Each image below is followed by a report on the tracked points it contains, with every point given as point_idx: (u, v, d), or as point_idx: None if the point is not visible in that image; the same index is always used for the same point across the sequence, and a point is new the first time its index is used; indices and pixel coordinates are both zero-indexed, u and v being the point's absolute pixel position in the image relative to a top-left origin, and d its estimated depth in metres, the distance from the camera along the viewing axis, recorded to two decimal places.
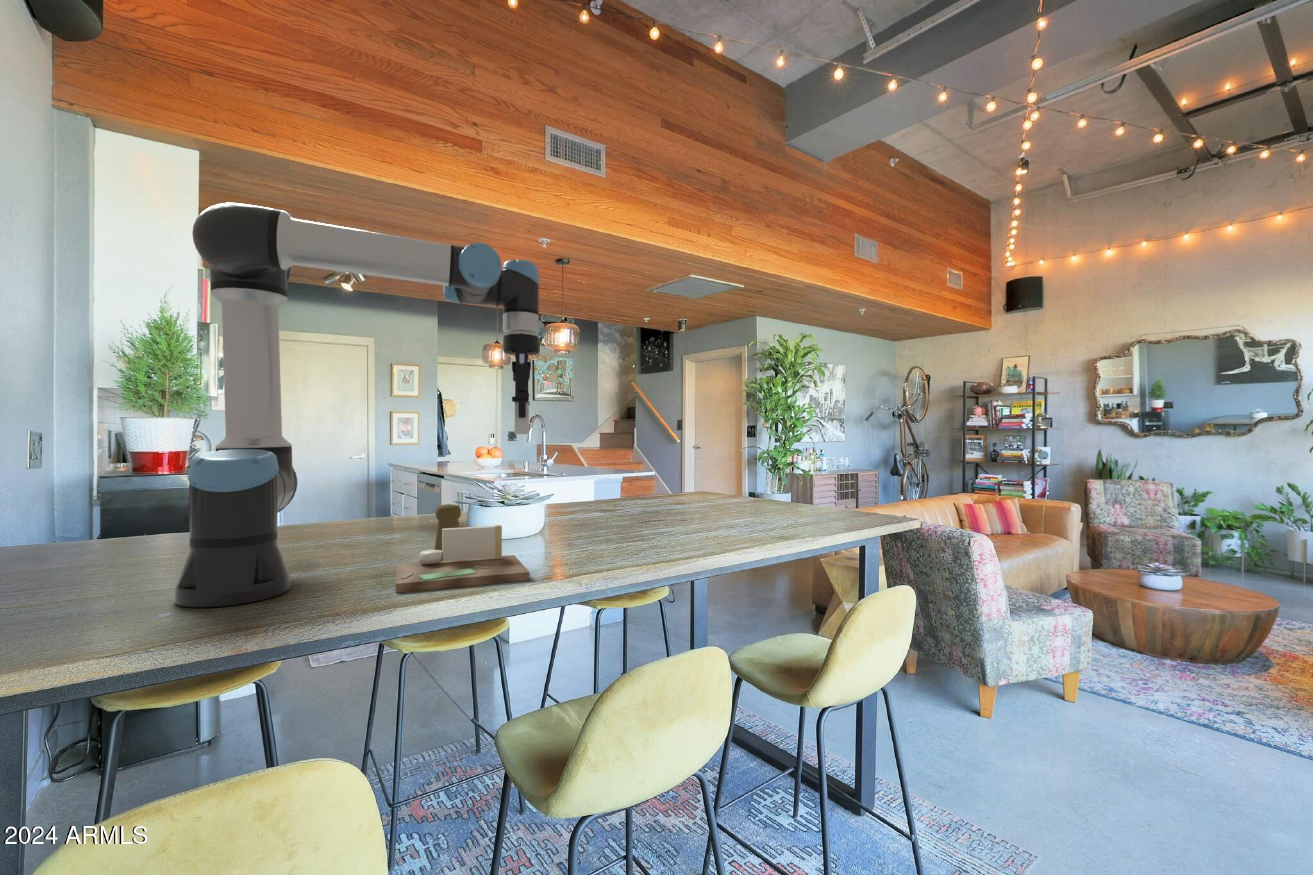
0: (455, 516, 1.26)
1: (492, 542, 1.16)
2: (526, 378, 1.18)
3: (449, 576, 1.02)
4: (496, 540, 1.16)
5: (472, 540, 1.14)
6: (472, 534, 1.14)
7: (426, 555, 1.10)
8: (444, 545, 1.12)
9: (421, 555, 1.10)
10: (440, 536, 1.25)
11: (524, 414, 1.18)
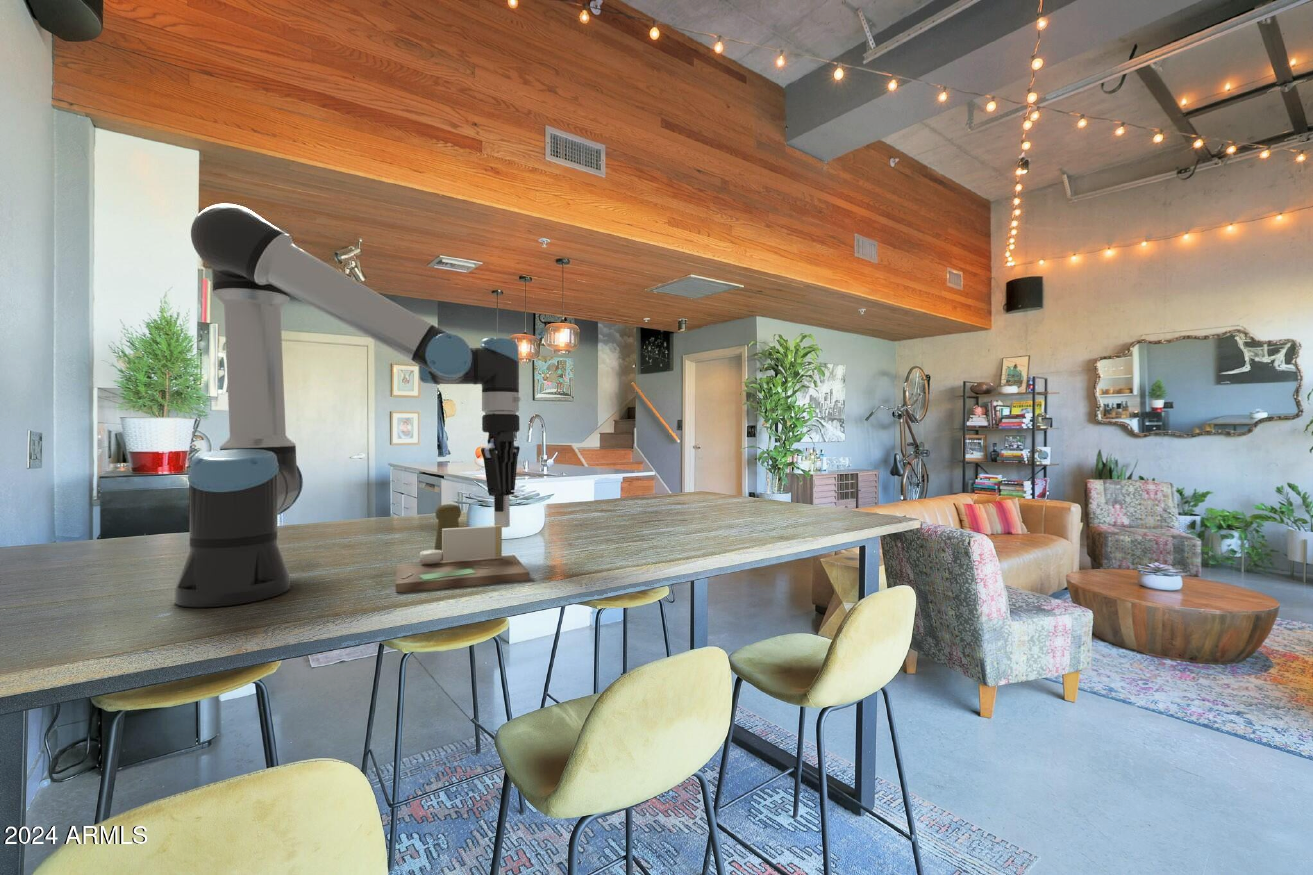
0: (455, 516, 1.26)
1: (492, 542, 1.16)
2: (495, 475, 1.18)
3: (449, 576, 1.02)
4: (496, 540, 1.16)
5: (472, 540, 1.14)
6: (472, 534, 1.14)
7: (426, 555, 1.10)
8: (444, 545, 1.12)
9: (421, 555, 1.10)
10: (440, 536, 1.25)
11: (499, 508, 1.21)
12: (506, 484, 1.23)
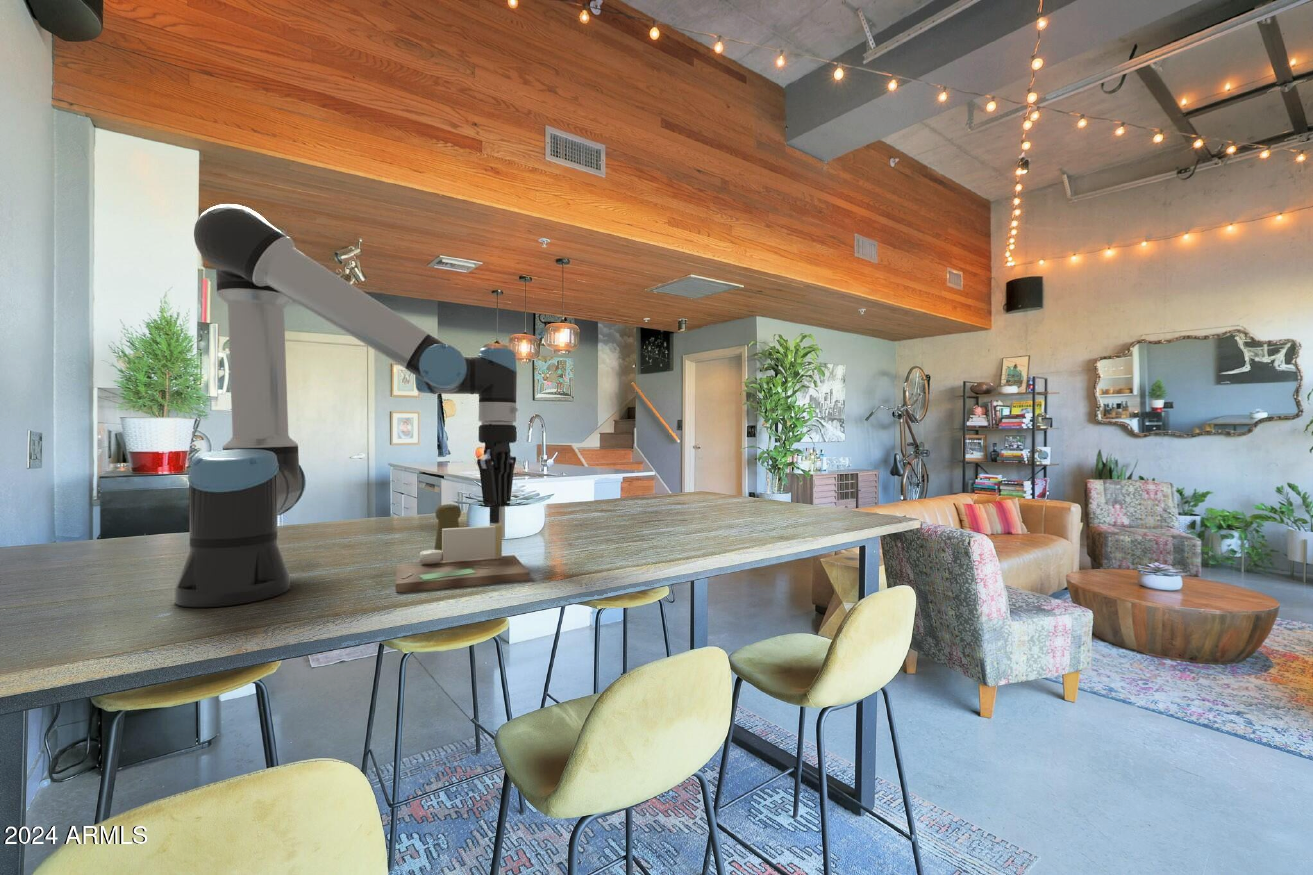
0: (455, 516, 1.26)
1: (492, 542, 1.16)
2: (490, 486, 1.17)
3: (449, 576, 1.02)
4: (496, 540, 1.16)
5: (472, 540, 1.14)
6: (472, 534, 1.14)
7: (426, 555, 1.10)
8: (444, 545, 1.12)
9: (421, 555, 1.10)
10: (440, 536, 1.25)
11: (495, 520, 1.19)
12: (502, 495, 1.22)
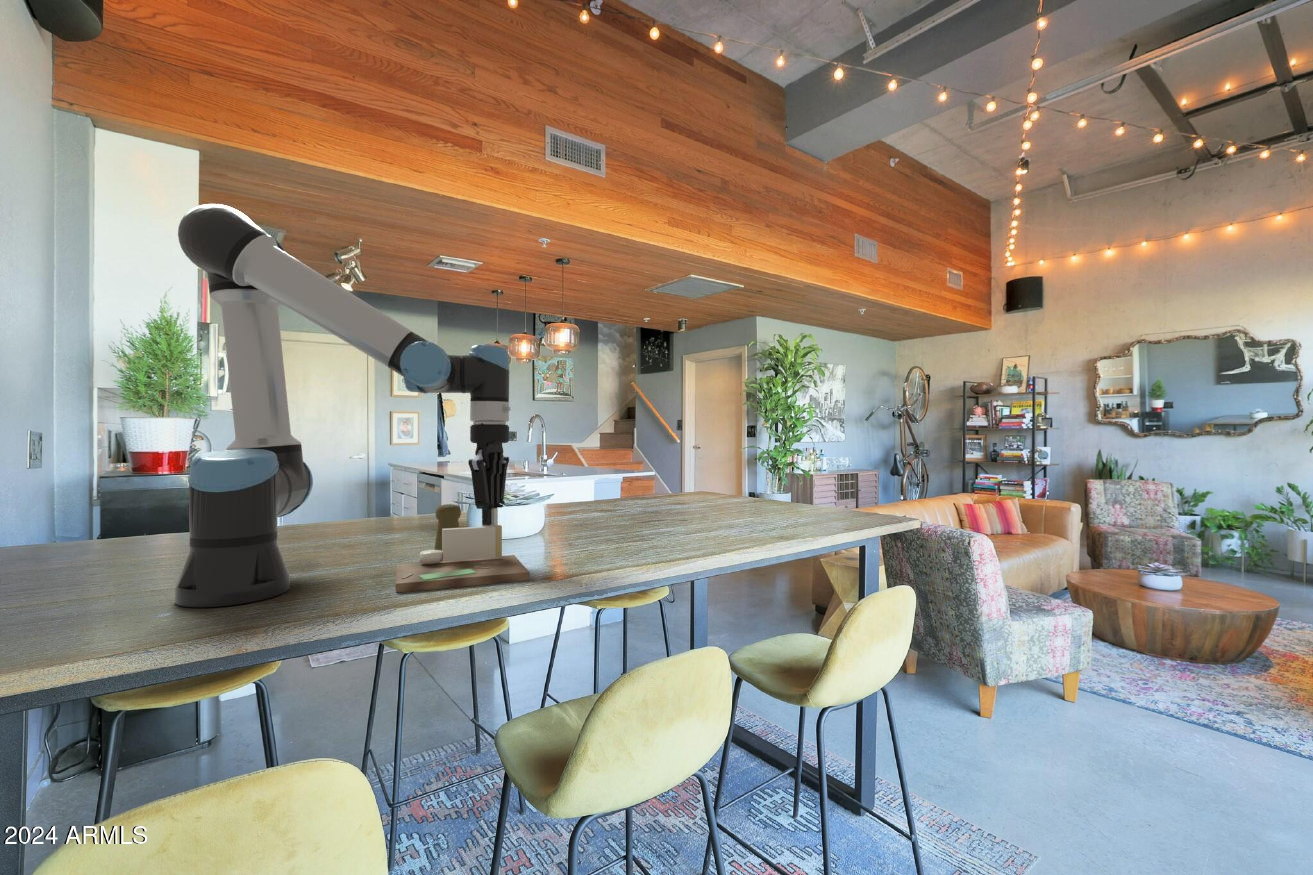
0: (455, 516, 1.26)
1: (492, 542, 1.15)
2: (482, 487, 1.13)
3: (449, 576, 1.02)
4: (496, 540, 1.16)
5: (472, 540, 1.14)
6: (472, 534, 1.14)
7: (426, 555, 1.10)
8: (444, 545, 1.12)
9: (420, 555, 1.11)
10: (440, 536, 1.25)
11: (487, 522, 1.16)
12: (494, 496, 1.19)
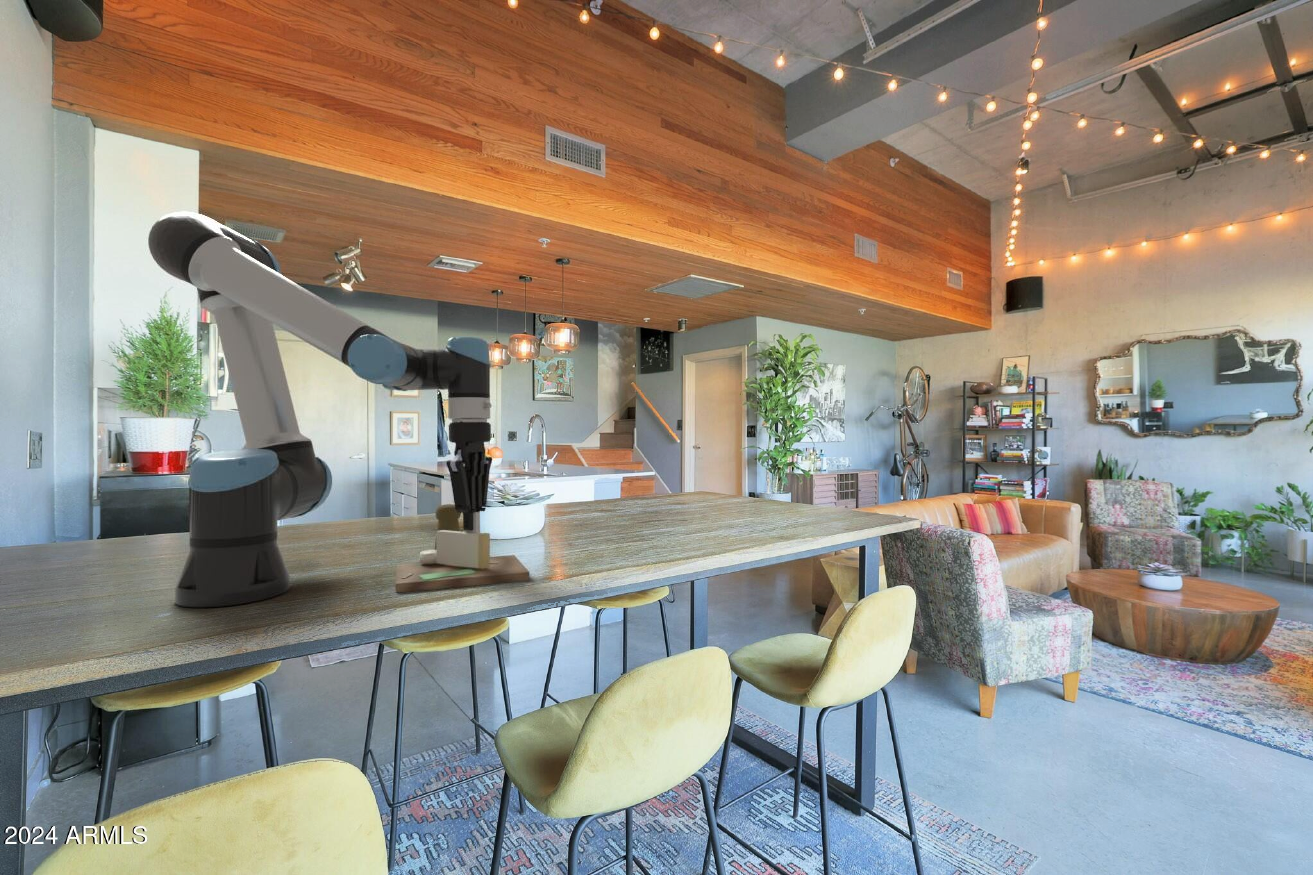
0: (455, 516, 1.26)
1: (475, 551, 1.07)
2: (462, 490, 1.06)
3: (449, 576, 1.02)
4: (479, 549, 1.07)
5: (459, 546, 1.08)
6: (459, 539, 1.08)
7: (420, 554, 1.11)
8: (437, 547, 1.10)
9: None
10: None
11: (469, 527, 1.08)
12: (476, 500, 1.11)
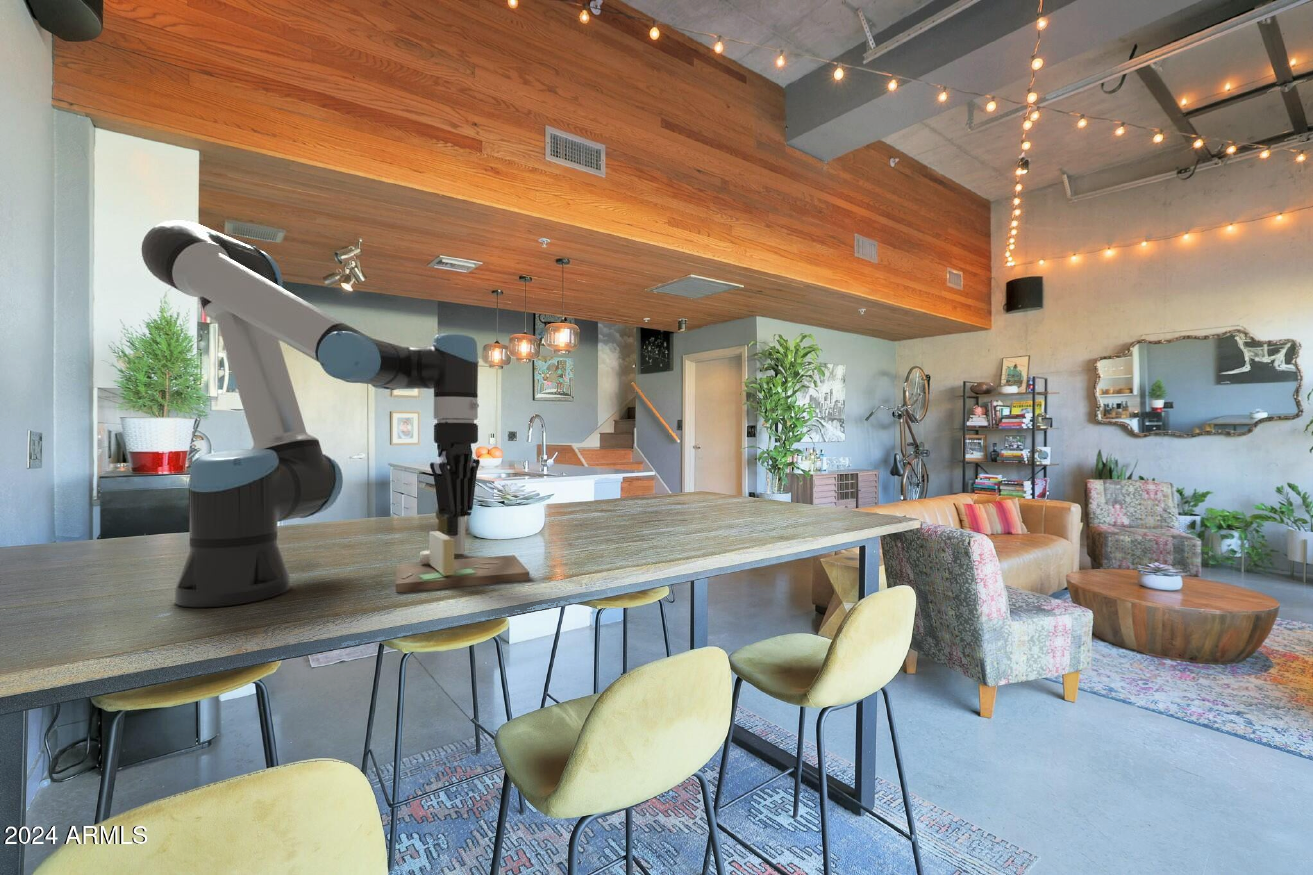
0: None
1: (441, 556, 1.02)
2: (446, 494, 1.01)
3: (449, 576, 1.02)
4: (442, 555, 1.01)
5: (436, 549, 1.05)
6: (436, 542, 1.05)
7: None
8: (429, 548, 1.10)
9: None
10: None
11: (453, 532, 1.04)
12: (462, 503, 1.06)
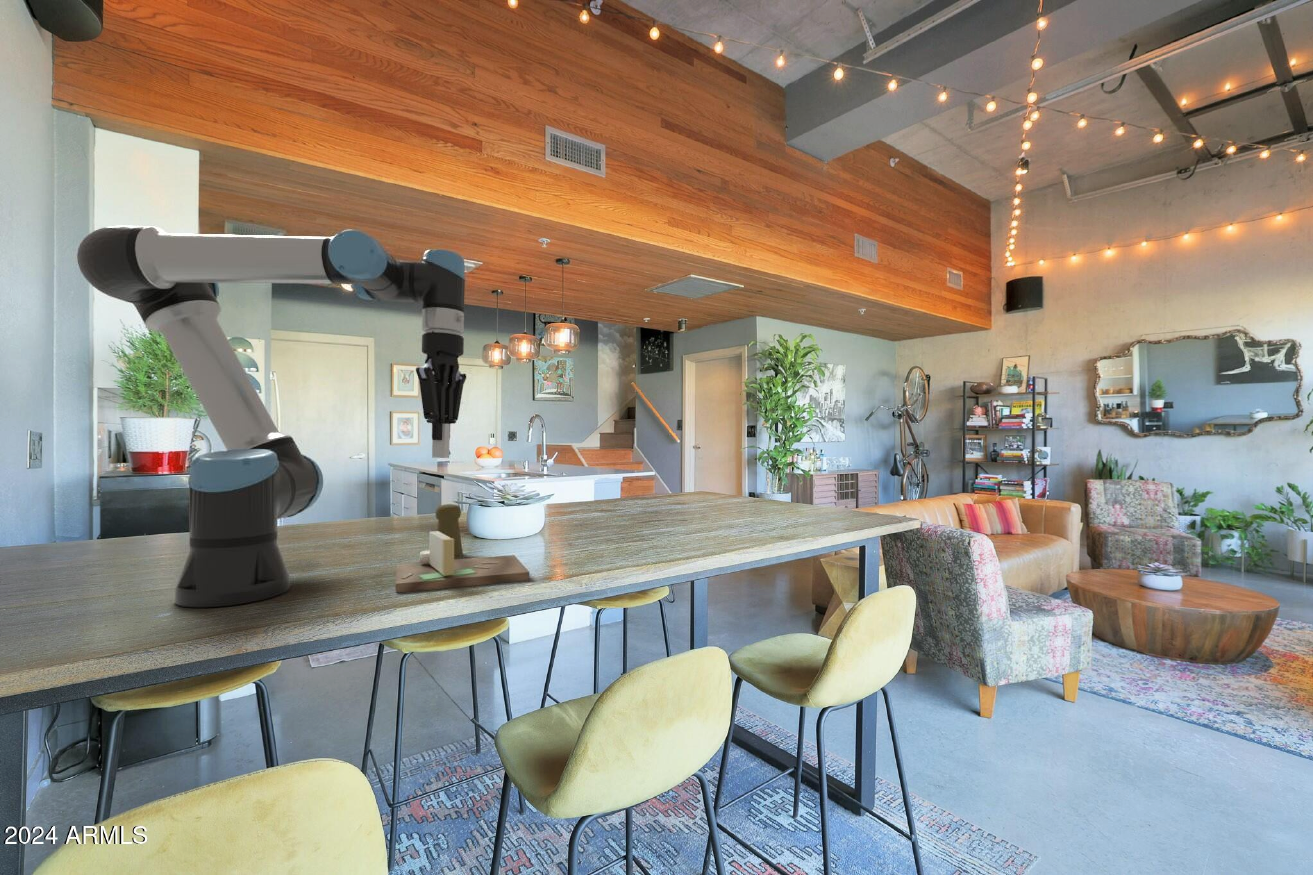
0: (455, 516, 1.26)
1: (441, 556, 1.02)
2: (431, 398, 1.08)
3: (449, 576, 1.02)
4: (442, 555, 1.01)
5: (436, 549, 1.05)
6: (436, 542, 1.05)
7: None
8: (429, 548, 1.10)
9: None
10: None
11: (437, 436, 1.10)
12: (447, 412, 1.13)
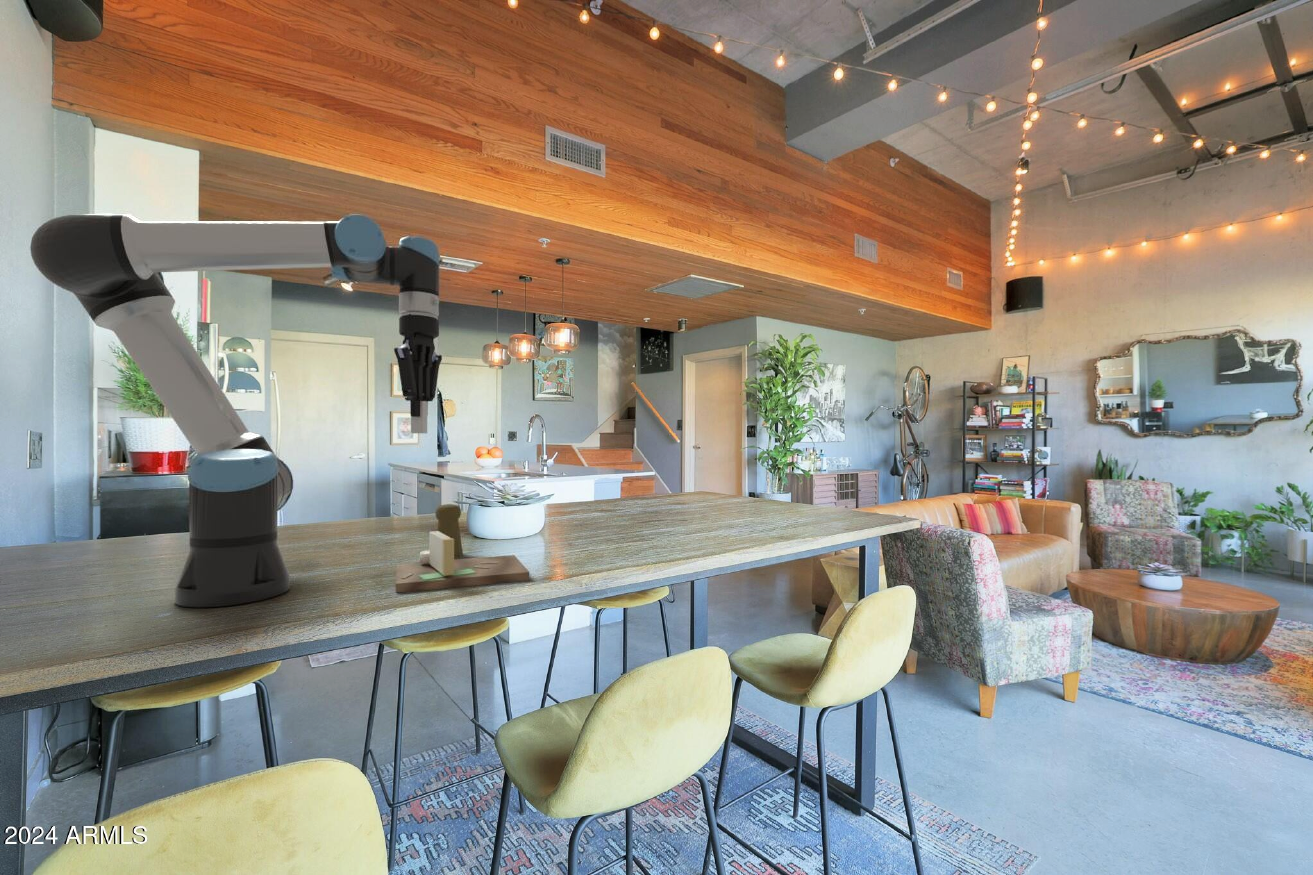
0: (455, 516, 1.26)
1: (441, 556, 1.02)
2: (409, 376, 1.15)
3: (449, 576, 1.02)
4: (442, 555, 1.01)
5: (436, 549, 1.05)
6: (436, 542, 1.05)
7: None
8: (429, 548, 1.10)
9: None
10: None
11: (415, 413, 1.17)
12: (424, 390, 1.20)
